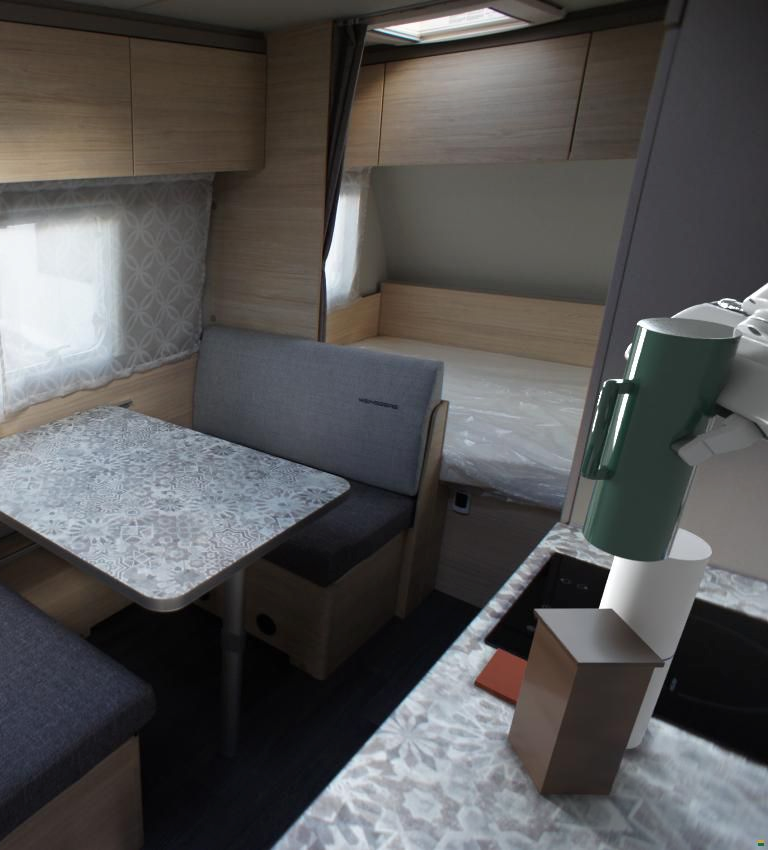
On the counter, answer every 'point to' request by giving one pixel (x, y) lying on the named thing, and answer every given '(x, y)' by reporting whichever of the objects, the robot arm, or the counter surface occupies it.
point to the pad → (503, 676)
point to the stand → (580, 699)
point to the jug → (653, 434)
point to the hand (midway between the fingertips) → (648, 437)
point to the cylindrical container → (657, 606)
